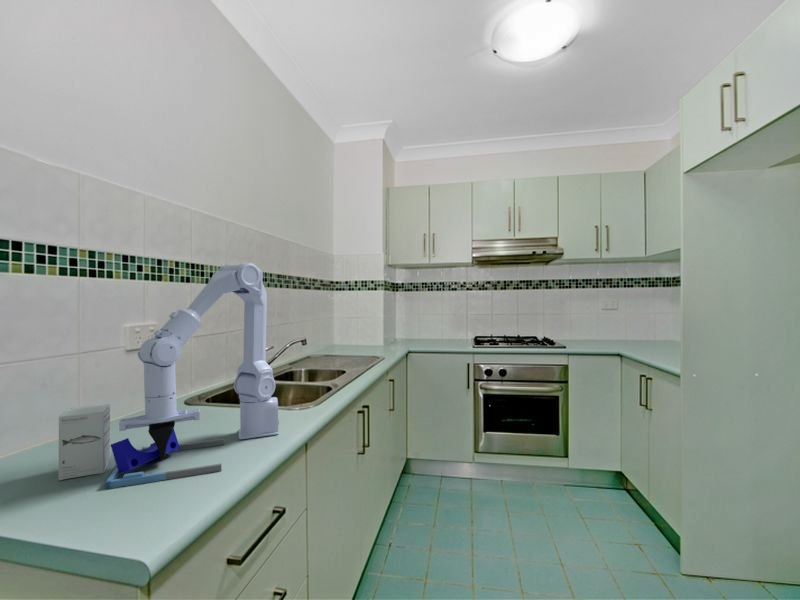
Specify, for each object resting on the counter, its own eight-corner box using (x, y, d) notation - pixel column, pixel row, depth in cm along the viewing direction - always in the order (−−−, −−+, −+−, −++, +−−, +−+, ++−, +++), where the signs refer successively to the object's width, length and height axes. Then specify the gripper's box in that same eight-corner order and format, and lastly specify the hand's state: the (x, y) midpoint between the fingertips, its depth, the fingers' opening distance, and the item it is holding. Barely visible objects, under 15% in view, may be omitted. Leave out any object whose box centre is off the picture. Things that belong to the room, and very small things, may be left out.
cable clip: (164, 452, 90) (157, 427, 91) (179, 447, 89) (171, 421, 90) (113, 475, 79) (105, 446, 79) (130, 470, 78) (121, 440, 78)
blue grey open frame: (224, 443, 96) (224, 436, 96) (221, 470, 80) (221, 462, 80) (128, 456, 88) (128, 448, 88) (105, 489, 73) (104, 480, 73)
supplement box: (57, 482, 76) (56, 416, 76) (68, 467, 83) (67, 407, 83) (104, 473, 80) (103, 411, 80) (111, 460, 86) (110, 402, 86)
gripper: (199, 386, 90) (201, 445, 91) (123, 394, 84) (125, 458, 84) (198, 393, 84) (200, 456, 84) (116, 402, 78) (118, 471, 78)
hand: (162, 458), depth 84 cm, fingers closed, pressing on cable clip
